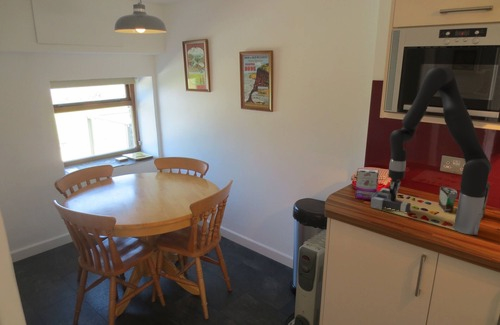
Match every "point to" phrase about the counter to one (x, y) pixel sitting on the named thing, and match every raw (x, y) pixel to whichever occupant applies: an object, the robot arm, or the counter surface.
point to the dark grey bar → (396, 205)
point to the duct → (377, 201)
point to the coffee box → (485, 199)
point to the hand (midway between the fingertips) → (393, 200)
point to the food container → (447, 198)
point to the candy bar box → (366, 183)
